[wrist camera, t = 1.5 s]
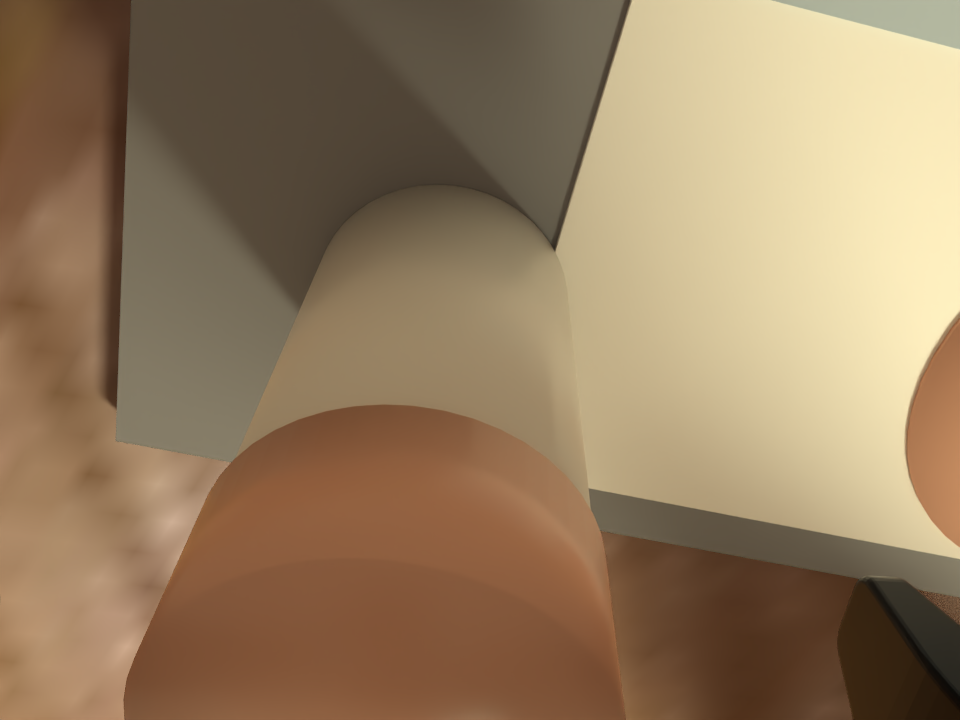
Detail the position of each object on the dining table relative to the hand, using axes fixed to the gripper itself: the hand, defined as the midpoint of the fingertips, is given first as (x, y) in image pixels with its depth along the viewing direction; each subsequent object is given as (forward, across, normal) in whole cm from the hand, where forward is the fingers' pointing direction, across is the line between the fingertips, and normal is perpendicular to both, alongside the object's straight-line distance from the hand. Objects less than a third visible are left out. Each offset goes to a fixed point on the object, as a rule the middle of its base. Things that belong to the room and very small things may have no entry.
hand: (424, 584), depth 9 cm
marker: (+6, 0, 0) cm, 6 cm away
